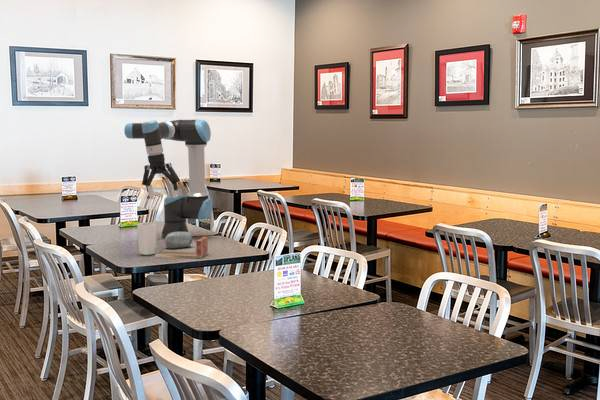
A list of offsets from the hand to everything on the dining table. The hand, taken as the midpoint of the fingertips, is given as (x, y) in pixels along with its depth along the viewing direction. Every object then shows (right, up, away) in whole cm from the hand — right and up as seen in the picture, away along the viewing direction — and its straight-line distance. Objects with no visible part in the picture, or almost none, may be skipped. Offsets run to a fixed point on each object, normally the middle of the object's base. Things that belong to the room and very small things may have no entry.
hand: (163, 198), depth 310 cm
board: (+9, -27, 0) cm, 29 cm away
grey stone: (+3, -25, +20) cm, 33 cm away
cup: (-8, -27, +2) cm, 28 cm away
